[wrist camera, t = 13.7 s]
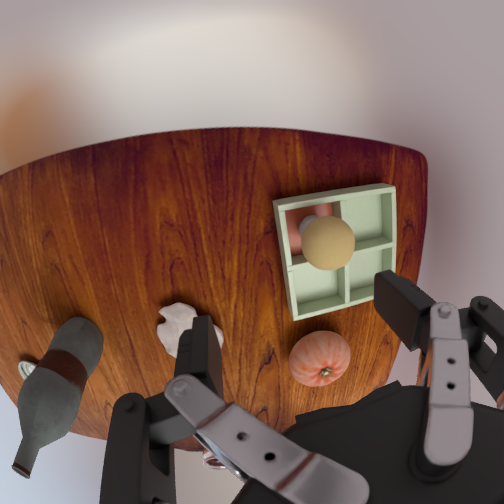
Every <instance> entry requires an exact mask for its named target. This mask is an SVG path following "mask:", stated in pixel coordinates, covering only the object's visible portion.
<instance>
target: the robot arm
mask: <svg viewBox="0 0 504 504" xmlns="http://www.w3.org/2000/svg"><path fill="white" fill-rule="evenodd" d="M373 301H374V306H375V309H376V311H377V312H378V313H379V315H380V316H381V317H382V318H383V319H384V320H385V322H386V323H387V324H388V325H389V326H390V327H391V329H392V330H393V331H394V332H395V333H396V335H397V336H398V337H399V338H400V339H401V341H402V342H403V343H404V344H405V346H406V347H407V348H408V349H409V350H410V352H411V351H414V350H416V349H418V348H420V349H421V352H420V357H419V367H418V376H417V383H416V385H415V386H414V385H413V386H412V385H409V386H401V384H400V382H399V381H398V380H397V381H395V382H392V383H390V384H388V385H385V386H383V387H380V388H378V389H376V390H374V391H373V392H371V393H370V394H368V395H367V396H365V397H364V398H362V399H361V400H359V401H358V402H356V403H354V404H352V405H347V406H338V407H329V408H321V409H318V410H315V411H311V412H308V413H304V414H300V415H296V416H295V418H296V424H294V425H292V426H290V427H289V428H287V429H285V430H284V431H283V432H282V433H278V432H276V431H275V430H273V429H272V428H270V427H269V426H267V425H266V424H264V423H263V422H261V421H260V420H259V419H257V418H256V417H254V416H253V415H251V414H250V413H249V412H247V411H246V410H244V409H243V408H242V407H240V406H239V405H238V404H236V403H234V402H230V403H229V404H228V403H226V402H225V401H224V395H223V379H222V361H221V348H220V343H219V340H218V337H217V334H216V331H215V328H214V325H213V322H212V319H211V317H210V315H209V314H207V315H202V316H197V317H193V323H192V329H187V330H184V331H183V333H182V334H181V336H180V337H179V342H178V349H177V356H176V364H175V371H174V378H172V379H171V380H169V381H168V383H167V384H166V386H165V388H164V391H163V392H162V393H160V394H157V395H154V396H152V397H149V398H146V399H144V397H143V396H142V395H140V394H138V393H127V394H125V395H123V396H121V397H120V398H119V399H118V400H117V401H116V402H115V404H114V407H113V412H112V417H111V422H110V427H109V433H108V439H107V445H106V451H105V458H104V466H103V473H102V481H101V491H100V502H99V503H100V504H176V489H175V467H174V466H175V465H174V442H177V441H179V440H182V439H185V438H188V437H190V436H194V437H195V438H196V439H197V440H198V441H199V442H200V443H201V444H202V445H203V446H204V447H205V448H206V449H207V450H208V451H210V452H211V453H212V454H213V455H214V456H215V457H216V458H217V459H218V460H219V461H220V462H221V463H222V464H223V465H224V466H225V467H226V468H227V469H228V470H229V471H230V472H231V473H233V474H234V475H235V476H236V477H237V478H239V479H240V480H241V481H242V482H243V483H245V485H244V486H243V488H242V489H241V490H240V492H239V493H238V494H237V496H236V497H235V499H234V500H233V501H232V503H231V504H504V310H503V309H502V308H500V307H499V306H498V305H497V304H496V303H495V302H493V301H492V300H491V299H489V298H487V297H484V296H476V297H474V298H473V299H472V300H471V303H470V307H469V308H463V309H457V308H456V307H455V306H454V305H452V304H450V303H447V302H439V303H436V302H435V301H434V300H433V299H432V298H431V297H429V296H428V295H427V294H426V293H425V292H424V291H422V290H420V288H419V287H418V286H416V285H415V284H414V283H413V282H412V281H410V280H409V279H407V278H404V277H402V276H398V275H396V274H395V273H394V272H393V271H392V270H390V269H388V270H385V271H382V272H378V273H376V274H375V276H374V299H373ZM486 335H488V336H489V337H490V338H491V339H492V340H493V341H494V342H495V343H496V346H497V353H496V354H495V353H494V352H493V351H492V350H491V349H490V347H489V346H488V345H487V344H486V343H485V342H484V340H485V337H486ZM470 368H471V369H472V371H473V372H474V373H475V375H476V376H477V377H478V378H479V380H480V381H481V382H482V384H483V385H484V386H485V388H486V389H487V390H488V392H489V393H490V394H491V396H492V397H493V398H494V400H495V401H496V403H497V408H493V407H489V406H486V405H482V404H479V403H475V402H471V401H470Z"/></svg>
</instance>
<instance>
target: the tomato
mask: <svg viewBox="0 0 504 504" xmlns="http://www.w3.org/2000/svg"><path fill="white" fill-rule="evenodd" d="M349 362H350V347H349V345H348V343H347V341H346V340H345V339H344V338H343V337H342V336H340V335H339V334H337V333H335V332H332V331H316V332H313V333H310V334H308V335H306V336H304V337H303V338H301V339H300V340H299V341H298V342H297V343H296V344H295V345H294V347H293V348H292V350H291V353H290V356H289V369H290V372H291V374H292V376H293V377H294V378H295V379H296V380H297V381H298V382H300V383H302V384H304V385H307V386H310V387H316V386H324V385H327V384H330V383H332V382H333V381H334V380H336V379H338V378H339V377H340V376H341V375H342V374H343V373H344V372H345V371H346V369H347V367H348V364H349Z"/></svg>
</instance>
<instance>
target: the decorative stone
mask: <svg viewBox="0 0 504 504" xmlns="http://www.w3.org/2000/svg"><path fill="white" fill-rule="evenodd" d="M159 313H160V314H161V315H163V316H164V317H165V318H166V322H165V323H162V324H159V325H158V327H157V335H158V337H159V339H160V341H161V343H163V345H164V346H165V348H166V351H167V352H168V353H169V354H170V355H172V356H174V357H175V358H176V356H177V349H178V342H179V337H180V336H181V334H182V333H183V331H184V330H187V329H192V323H193V317H197V314H196V312H195V309H194V308H193V307H191V306H189V305H187V304H183V303H175V304H173V305H171V306H166V307H163V308H162V309H161V310H160V311H159ZM213 325H214V324H213ZM214 328H215V331H216V334H217V337H218V340H219V343H220V348H221V347H222V343H223V332H222V330H221V329H219V328H218V327H217V326H216V325H214Z"/></svg>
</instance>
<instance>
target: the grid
mask: <svg viewBox="0 0 504 504" xmlns="http://www.w3.org/2000/svg"><path fill="white" fill-rule="evenodd" d="M272 202H273V208H274V214H275V221H276V227H277V233H278V240H279V247H280V253H281V260H282V267H283V274H284V281H285V288H286V295H287V302H288V309H289V311H290V314H291V316H292V318H293V321H296V320H300V319H304V318H308V317H312V316H316V315H320V314H324V313H327V312H331V311H335V310H338V309H342V308H345V307H349V306H352V305H356V304H359V303H363V302H366V301H369V300H372V299H374V276H375V274H376V273H378V272H382V271H385V270H388V269H390V270H392V271H393V272H394V273H395V265H396V189H395V186H392V185H388V184H385V183H378V184H370V185H363V186H356V187H350V188H343V189H336V190H330V191H324V192H318V193H312V194H306V195H300V196H294V197H289V198H283V199H278V200H273V201H272ZM309 215H316V216H318V217H321V216H334V217H338V218H340V219H342V220H343V221H345V222H346V223H347V224H348V225H349V226H350V228H351V229H352V231H353V234H354V237H355V248H354V252H353V255H352V257H351V259H350V261H349V262H348V263H347V264H346V265H345V266H343V267H341V268H339V269H336V270H321V269H318V268H315V267H314V266H312V265H311V264H310V263H309V262H308V261H307V260H306V258H305V257H304V254H303V252H302V248H301V238H302V237H301V236H300V234H299V224H300V222H301V221H302V220H303V219H304V218H305V217H307V216H309Z"/></svg>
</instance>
